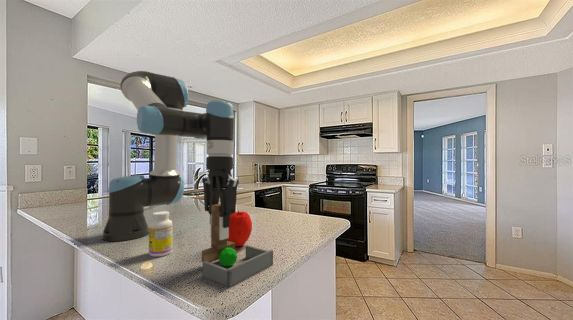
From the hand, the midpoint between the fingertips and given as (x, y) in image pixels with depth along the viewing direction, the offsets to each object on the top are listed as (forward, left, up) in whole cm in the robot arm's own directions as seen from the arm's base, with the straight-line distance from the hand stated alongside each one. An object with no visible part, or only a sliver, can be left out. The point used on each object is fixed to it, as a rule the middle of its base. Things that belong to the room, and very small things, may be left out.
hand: (219, 237), depth 72 cm
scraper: (0, 0, -6) cm, 6 cm away
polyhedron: (+3, +2, -7) cm, 8 cm away
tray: (+6, +5, -7) cm, 11 cm away
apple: (-14, +6, -7) cm, 17 cm away
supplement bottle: (-12, -18, -7) cm, 23 cm away
